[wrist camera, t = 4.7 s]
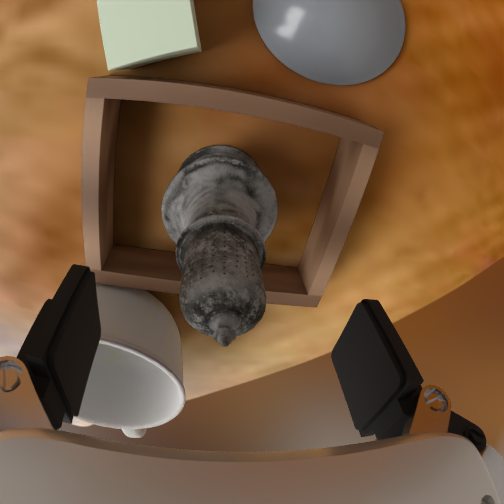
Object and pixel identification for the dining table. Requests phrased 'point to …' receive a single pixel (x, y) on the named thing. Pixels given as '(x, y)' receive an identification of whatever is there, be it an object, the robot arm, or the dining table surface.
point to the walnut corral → (237, 101)
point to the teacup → (134, 363)
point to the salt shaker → (220, 239)
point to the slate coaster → (332, 36)
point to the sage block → (147, 31)
